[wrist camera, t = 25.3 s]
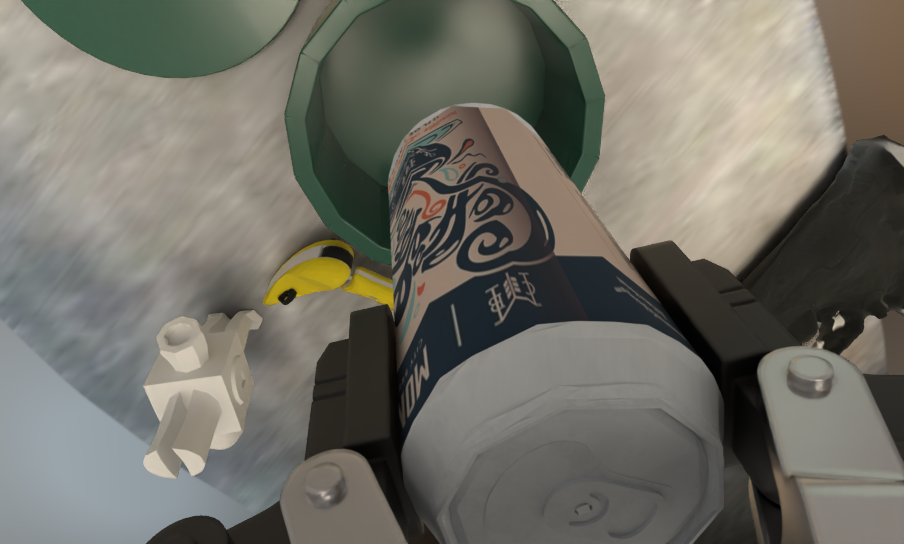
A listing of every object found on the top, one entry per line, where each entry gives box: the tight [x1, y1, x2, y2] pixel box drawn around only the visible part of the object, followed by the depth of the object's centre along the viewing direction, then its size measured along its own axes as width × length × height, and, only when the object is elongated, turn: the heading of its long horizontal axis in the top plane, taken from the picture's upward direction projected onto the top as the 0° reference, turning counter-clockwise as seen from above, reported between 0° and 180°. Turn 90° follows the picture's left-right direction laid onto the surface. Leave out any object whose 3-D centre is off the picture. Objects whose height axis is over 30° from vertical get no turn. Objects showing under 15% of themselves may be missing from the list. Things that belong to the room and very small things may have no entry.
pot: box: [284, 0, 605, 265], centre depth 28 cm, size 13×13×8 cm
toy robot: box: [143, 310, 263, 479], centre depth 31 cm, size 4×8×12 cm, turn 5°
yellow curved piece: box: [263, 239, 394, 310], centre depth 35 cm, size 10×6×4 cm, turn 60°
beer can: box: [388, 103, 724, 544], centre depth 13 cm, size 5×5×12 cm
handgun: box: [741, 135, 904, 355], centre depth 40 cm, size 21×17×4 cm
